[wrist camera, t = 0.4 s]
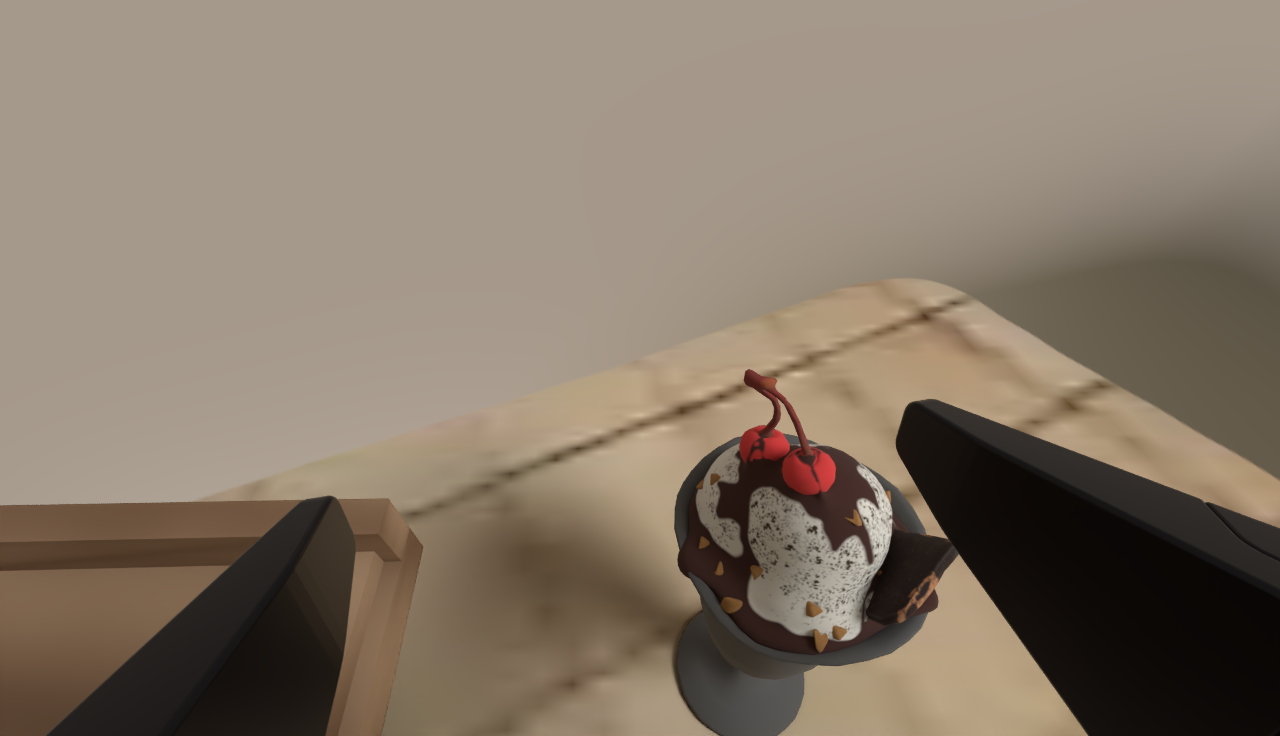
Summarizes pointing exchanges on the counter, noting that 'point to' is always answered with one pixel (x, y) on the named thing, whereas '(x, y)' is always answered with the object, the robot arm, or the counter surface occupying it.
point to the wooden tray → (172, 596)
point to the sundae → (792, 571)
